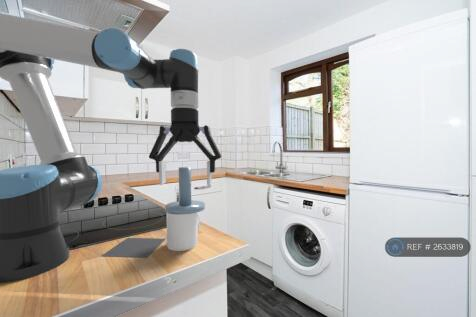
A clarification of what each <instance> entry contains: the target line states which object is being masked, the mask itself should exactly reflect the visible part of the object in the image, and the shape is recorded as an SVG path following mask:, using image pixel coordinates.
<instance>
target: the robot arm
mask: <svg viewBox="0 0 476 317" xmlns="http://www.w3.org/2000/svg"><path fill="white" fill-rule="evenodd" d="M55 60H56V61H62V62H66V63H71V64H77V65H83V66H87V67H92V68H97V69H102V70H106V71H111V72H116V73H120V74H122V75H123V77H124V80H125V82H126V83H127V85H128V86H129V87H130V88H133V89H141V90H146V89H170V106H171V110H170V124H171V125H170V126H165V125H160V126H159V131H158V135H157V138H156V140H155V142H154V144H153V147H152V148H151V151H150V153H149V155H148V158H149V159H150V160H154V161H155V171H156V173H158V176H159V177H158V182H159V183H158V184H159V185H164V184H166V183H167V182H166V180H167V178H166V160H164V158H166V156H167V155H168V154H169V153H170V152H171V150H172V149H173V148H174V146H175V145H176V144H177V143H185V142H187V143H192V142H193V143H194V144H195V145H196V146H197V147H198V148H199V149H200V150H201V152H203V154H204V155H205V156H206V157H207V159H208V160H207V161H206V185H207V186H210V185H212V184H213V183H212V178H213V177H212V176H213V175H212V173H215V172H216V161H217V160H219V159H221V158H222V154H221V152H220V150H219V148H218V146H217V144H216V142H215V140H214V138H213V136H212V134H211V128H210V125H209V126H208V125H207V124H205V125H204V126H199V124H200V123H199V110H198V108H199V68H198V56H197V55H196V54H195V52H194V51H192V50H190V49H186V48H176V49H173V50H171V51H170V54H169V59H167V58H166V59H153V58H152V57H151V56H150V55H149V54H148V53H147V52H146V51H145V50H144V49H143V48H142V47H141V46H140V45H139V44H138V43H137V42H136V41H135V39H133V37H132V36H130V35H129V34H127V33H126V32H125V31H123V30H121V29H119V28H116V27H109V28H106V29H103V30H101V31H100V32H97V31H92V30H88V29H87V30H86V29H82V28H77V27H72V26H68V25H61V24H57V23H52V22H48V21H47V22H46V21H41V20H37V19H32V18H28V17H27V18H26V17H22V16H18V15H12V14H7V13H3V12H1V11H0V78H1V79H2V80H4V81H5V82H8V83H9V85H10V88H11V90H12V92H13V95H14V97H15V99H16V103H17V105H18V107H19V109H20V113H21V116H22V118H23V119H24V120H23V121H24V122H25V125H26V127H27V130H28V132H29V135H30V137H31V140H32V142H33V145H34V148H35V150H36V152H37V155H38V157H39V160H40V163H39V164H30V165H25V166H16V167H15V166H14V167H10V168H4V169H1V170H0V284H6V283H12V282H18V281H22V280H26V279H30V278H34V277H36V276H39V275H42V274H45V273H48V272H50V271H52V270H55V269H56V268H58V267H60V266H61V265H63V264H64V263H65V262H66V261H68V259H69V258H70V248H69V245H67V243H66V241H65V240H66V239H65V238H64V235H63V233H62V230H61V228H60V227H61V226H60V213H61V212H65V211H68V210H72V209H74V208H77V207H81V206H84V205H86V204H88V203H89V202H91V201H94V199H96V198H97V197H98V195H99V194H100V192H101V190H102V187H103V178H102V175H101V173H100V171H98V169H96V167H93V166H91V165H89V164H88V162H87V159H86V157H85V155H82V154H80V153H78V152H77V150H76V148H75V145H74V143H73V140H72V138H71V135H70V132H69V129H68V127H67V124H66V122H65V120H64V117H63V114H62V113H61V108H60V107H59V104H58V102H57V98H56V96H55V94H54V92H53V89H52V86H51V85H50V81H49V78H51V76H52V70H53V68H54V66H53V65H54V64H55ZM200 132H201V133H202V134H203V135H204V137H205V138H206V141H207V143H208V144H209V147H210V148H211V151H210V149H209V148H207V147H208V146H206V145H205V144H204V142H202V140H201V139H200V137H199V134H200ZM169 133H170V134H171V137H169V140H168V141H167V143H166V144H165V145H164V147H163V148H162V146H163V144H164V142H165V140H166V138H167V136H168V134H169ZM161 148H162V149H161ZM212 152H213V153H212Z"/></svg>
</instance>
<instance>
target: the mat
mask: <svg viewBox="0 0 476 317" xmlns="http://www.w3.org/2000/svg"><path fill="white" fill-rule="evenodd" d="M165 240H166V238H157V237H156V238H154V237H153V238H150V237H126V238H125V239H123V240H121V241H120V242H119V243H118V244H116V245H115V246H113V247H112V248H110V249H109V250H107V251H106V252H105V253H103V254H102V255H101V257H103V258H104V257H105V258H107V257H110V258H140V259H141V258H142V259H143V258H144V259H145V258H146V259H148V258H149V257H150V255H151V254H152V253H153V252H155V250H156V249H157V248H159V246H160V245H162V243H163V242H164V241H165Z"/></svg>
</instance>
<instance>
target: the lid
mask: <svg viewBox="0 0 476 317" xmlns="http://www.w3.org/2000/svg"><path fill="white" fill-rule="evenodd" d="M205 209H206V203H205V202H204V201H201V200H194V199H193V200H192V167H190V166H183V167H178V200H177V201H176V200H175V201H172V202H169V203H167V204H165V205H164V211H165V213H166V212H167V213H171V214H191V213H197V212H198V213H200V212H203V211H204V210H205Z"/></svg>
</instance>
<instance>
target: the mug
mask: <svg viewBox="0 0 476 317" xmlns="http://www.w3.org/2000/svg"><path fill="white" fill-rule="evenodd" d="M165 213H166V216H165V218H166V246H167V249H168V250H170V251H173V252H182V251H184V252H185V251H188V250H189V251H190V250H191V249H194V248H195V247H196V246H197V245H198V231H199V230H200V229H199V228H200V226H201V217H200V214H199V212H197V213H191V214H171V213H167V212H166V211H165Z"/></svg>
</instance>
